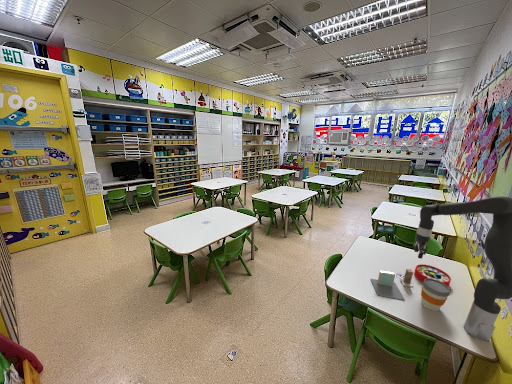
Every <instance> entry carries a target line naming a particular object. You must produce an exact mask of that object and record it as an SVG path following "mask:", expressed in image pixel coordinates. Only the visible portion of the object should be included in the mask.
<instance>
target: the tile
mask: <svg viewBox="0 0 512 384" xmlns="http://www.w3.org/2000/svg"><path fill="white" fill-rule="evenodd" d="M395 277H396V273H395V272H393V271H386V270H379V272H378V278H377V280H378V281H377V283H378V284H380V285H385V286H391V287H392V286H393V282H394V281H395ZM394 283H395V282H394Z"/></svg>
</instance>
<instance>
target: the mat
mask: <svg viewBox="0 0 512 384" xmlns="http://www.w3.org/2000/svg"><path fill="white" fill-rule="evenodd" d="M377 281H378V279H374V278H370V282H371V284H372V286H373V288H374V290H375V293H376V295H377V296H378V297H385V298H389V299H395V300H400V301H405V300H406V299H405V298H404V294H402V292H401V290H400V288H399V287H398V285H397V284H396V282H393V286H392V287H391V286H385V285H380V284H378V283H377Z"/></svg>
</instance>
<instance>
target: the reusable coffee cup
mask: <svg viewBox="0 0 512 384" xmlns="http://www.w3.org/2000/svg"><path fill="white" fill-rule="evenodd" d="M421 285H422V287H421V293H420V296H421V298H420V299H421V300H420V301H421V302H420V303H421V304H422V306H424V307H425V308H427V309H429V311H433V312H439V310H440V309H441V307H442V306H444V304H445V303H446V301H447V300H448V297H449V296H450V293H451V290H450V287H448V286H446V285H445V284H444V283H442V282H440V281H437V280H434V279H429V278H428V279H425V280H424V281H423V283H422V284H421Z"/></svg>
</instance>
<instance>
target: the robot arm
mask: <svg viewBox="0 0 512 384" xmlns="http://www.w3.org/2000/svg"><path fill="white" fill-rule="evenodd" d="M465 214H488V215H489V214H491V215H492V224H491V227H490V229H489V230H488V232H487V234H486V235H485V240H484V252H485V254H486V257H487V259H488V260H489V262H490V263H491V265H492V267H493V274H494V275H493V278H480V279H479V280H478V281H477V283H476V286H475V289H474V292H473V301H472V304H471V307H470V309H469V311H468V314H467V317H466V319H465V322H464V323H463V329H464V330H465V331H466V332H467V333H468V334H469V335H471V336H472V337H473V338H474V339H477V340H480V341H481V340H482V341H487V342H490V340H491V339H492V336H493V334H494V331H495V329H496V326H495V323H496V322H497V319H498V317H499V315H500V313H501V310H502V309H501V306H500V305H499V303H498V302H496V299H497V300H510V299H512V197H509V196H501V195H498V196H497V195H495V196H491V197H487V198H481V199H478V200H471V201H463V202H449V203H448V202H447V203H441V204H439V203H438V204H428V205H423V206H422V207H421V208H420V209H419V219H420V220H419V223H418V227H417V229H416V232H415V236H414V238H415V239H414V243H413V244H414V249H413V251H414V252H415V253H418V254H417V258H418V259H421V260H422V259H423V256H424V255H426V253H427V249H428V246H427V244H426V243H429V242H430V240H431V236H432V233H433V228H434V224H435V222H434V220H433V219H432V218H433V217H435V216H456V215H457V216H458V215H465Z"/></svg>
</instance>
